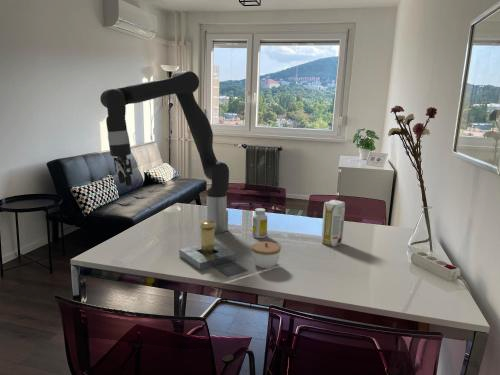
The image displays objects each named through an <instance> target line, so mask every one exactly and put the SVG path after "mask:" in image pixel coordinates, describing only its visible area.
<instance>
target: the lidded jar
mask: <svg viewBox="0 0 500 375" xmlns="http://www.w3.org/2000/svg"><path fill="white" fill-rule="evenodd" d="M281 249H282V248H281V246H280V245H279V244H278V243H276V242H271V241H260V242H259V241H258V242H255V243H253V244H252V245H251V257H252V260H253V263H254V264H255V265H256V266H257V267H258V268H261V269H267V270H272V269H274V267H275V266H276V265H277V264H278V262H279V260H280V257H281V256H280V255H281Z"/></svg>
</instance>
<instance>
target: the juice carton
mask: <svg viewBox="0 0 500 375" xmlns="http://www.w3.org/2000/svg"><path fill="white" fill-rule="evenodd" d="M322 211H323V213H322V227H321V229H322V230H321V244H323V245H326V246H330V247H337V246H338V245H341V244H342V241H343V238H344V237H343V233H344V224H345V212H346V203H345V201H341V200H337V199H331V200H329V201H325V202H324V204H323V210H322Z"/></svg>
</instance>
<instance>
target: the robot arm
mask: <svg viewBox="0 0 500 375" xmlns="http://www.w3.org/2000/svg"><path fill="white" fill-rule="evenodd" d="M199 87H200V79H199V76H198V75H197V74H196V73H195V72H194V71H191V70H181V71H176V72H174V73H173V74H172V76H171V77H168V78H165V79H158V80H150V81H144V82H138V83H133V84H129V85H127V86H124V87H118V88H117V87H116V88H109V89H106V90H104V91H103V92H102V93H101V95H100V103H101V105H102V106H103V107H104V108H106V109H107V117H106V118H105V120H106V121H105V122H106V128H107V129H106V130H107V140H108V146H109V154H110V156H111V157H113V158H112V160H113V164H114V172H115V173H116V175H117V178H118V183H119V184H125V186H126V187H131V186H132V185H133V182H132V175H133V174H134V173H133V172H134V171H133V168H132V162H131V158H128V156H129V155H131V154H132V151H131V150H132V149H131V142H130V137H129V132H128V127H127V122H126V113H127V111H126V109H127V105H129V104H140V103H143V102H148V101H151V100H154V99H158V98H161V97H166V96H170V95H175V96H176V99H177V101H178V102H179V104H180V107H181V109H182V112H183V115H184V117H185V120H186V123H187V125H188V128H189V132H190V134H191V137H192V139H193V141H194V144H195V147H196V149H197V151H198V156H199V158H200V162H201V165H202V170H203V174H204V176H205V177H206V178H207V179H208V180H210V181H211V186H210V187H209V188H208V189H207V190H206V221H207V220H209V221H214V222H216V227H215V228H214V234H219V233H220V234H221V233H225V232H226V231H228V230H229V211H228V210H227V201H228V200H227V197H228V196H227V195H228V194H227V193H228V190H229V185H230V184H229V182H230V168H229V166H228V165H227V163H224V162H222V161H218V159H217V157H216V154H215V152H214V149H213V148H214V147H213V143H214V133H213V129H212V126H211V123H210V121H209V118H208V117H207V115H206V113H205V111H203V109H202V108H201V106H199V104H198V103H197V100H196V98H195V95H194V92H196V91H197V90H198V89H199Z"/></svg>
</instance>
